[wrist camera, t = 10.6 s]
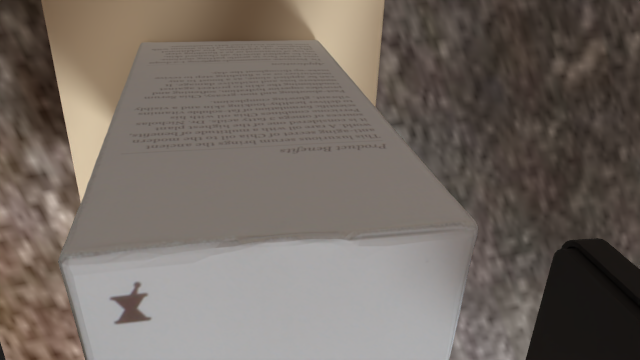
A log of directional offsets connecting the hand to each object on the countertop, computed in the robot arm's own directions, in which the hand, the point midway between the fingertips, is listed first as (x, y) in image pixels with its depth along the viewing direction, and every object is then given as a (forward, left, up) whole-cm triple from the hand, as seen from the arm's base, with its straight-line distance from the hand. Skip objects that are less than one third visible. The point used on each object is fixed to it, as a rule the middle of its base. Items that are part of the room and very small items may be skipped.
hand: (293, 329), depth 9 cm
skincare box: (0, 0, -12) cm, 12 cm away
